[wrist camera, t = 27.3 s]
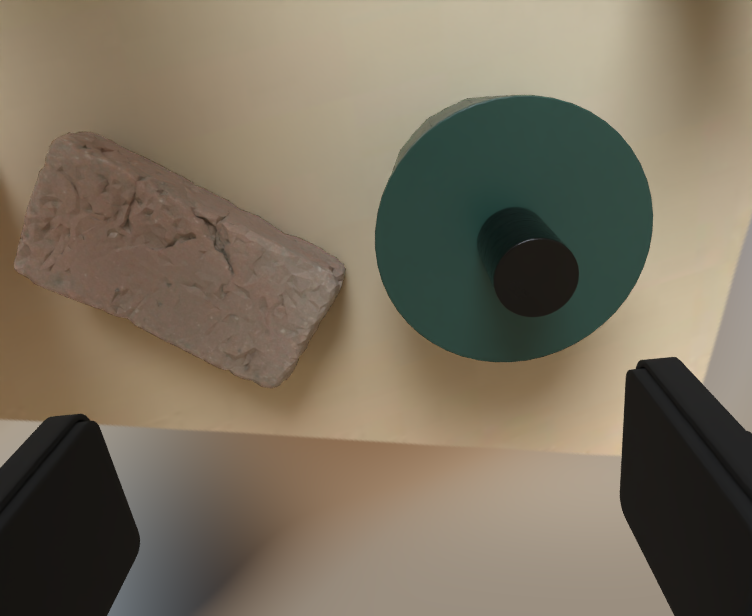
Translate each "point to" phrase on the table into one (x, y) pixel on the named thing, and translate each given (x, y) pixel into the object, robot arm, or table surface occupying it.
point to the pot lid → (513, 228)
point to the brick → (174, 259)
